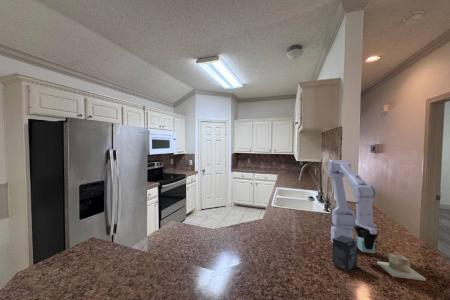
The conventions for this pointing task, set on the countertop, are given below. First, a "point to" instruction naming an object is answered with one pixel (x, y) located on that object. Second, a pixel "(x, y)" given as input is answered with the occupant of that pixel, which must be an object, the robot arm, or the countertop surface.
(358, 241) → the brick top
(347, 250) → the box
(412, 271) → the baseplate
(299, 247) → the countertop surface
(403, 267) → the brick base
